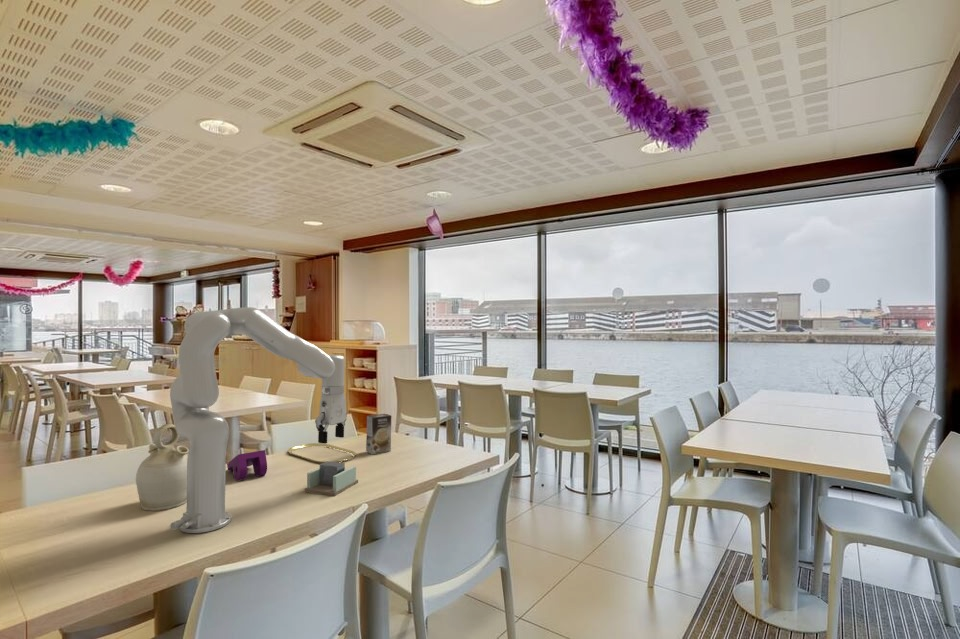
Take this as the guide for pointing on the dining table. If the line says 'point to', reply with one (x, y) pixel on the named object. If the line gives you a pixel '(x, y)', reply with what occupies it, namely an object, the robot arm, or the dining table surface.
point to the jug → (163, 474)
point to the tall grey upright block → (330, 472)
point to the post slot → (339, 482)
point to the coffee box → (378, 433)
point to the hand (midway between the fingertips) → (331, 440)
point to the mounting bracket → (248, 464)
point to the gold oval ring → (319, 445)
